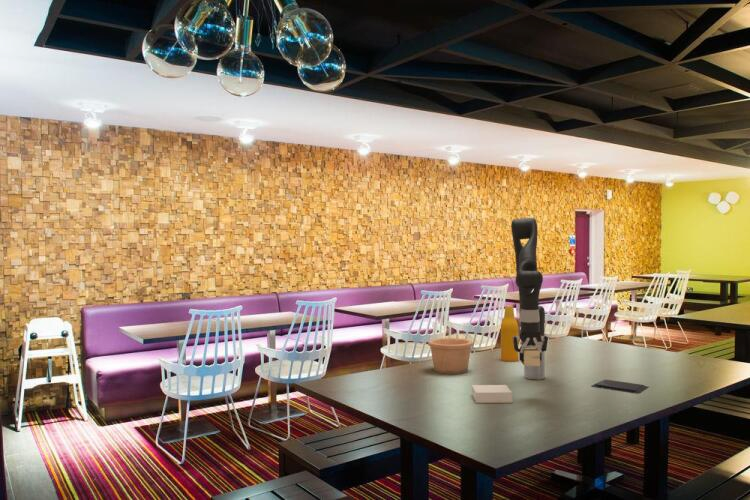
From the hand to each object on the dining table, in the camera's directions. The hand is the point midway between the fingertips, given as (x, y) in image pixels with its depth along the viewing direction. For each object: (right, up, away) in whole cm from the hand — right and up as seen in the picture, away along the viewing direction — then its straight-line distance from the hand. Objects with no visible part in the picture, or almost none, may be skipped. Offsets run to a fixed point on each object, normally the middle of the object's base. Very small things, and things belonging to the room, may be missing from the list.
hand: (530, 361), depth 229 cm
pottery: (-25, -15, +51) cm, 59 cm away
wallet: (+42, -15, +15) cm, 47 cm away
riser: (-16, -15, -1) cm, 22 cm away
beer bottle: (+9, -14, +75) cm, 77 cm away
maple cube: (0, -1, 0) cm, 1 cm away
